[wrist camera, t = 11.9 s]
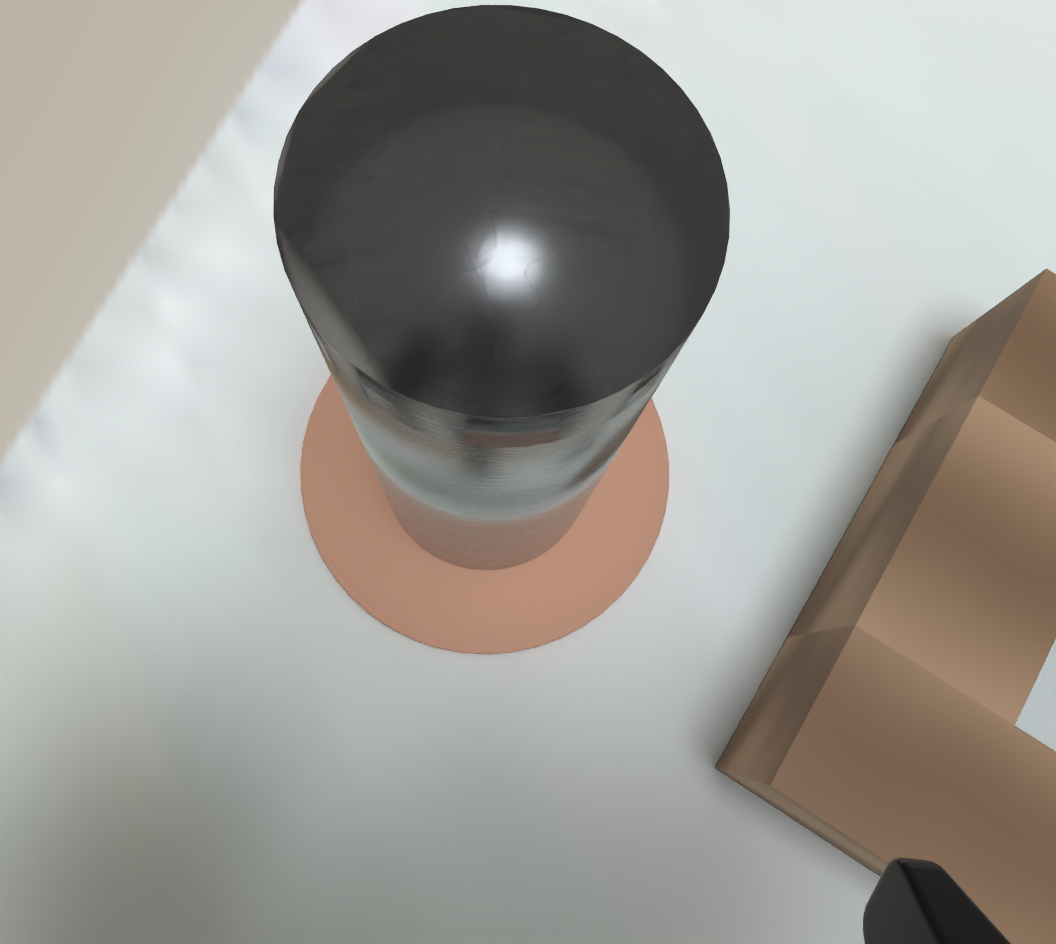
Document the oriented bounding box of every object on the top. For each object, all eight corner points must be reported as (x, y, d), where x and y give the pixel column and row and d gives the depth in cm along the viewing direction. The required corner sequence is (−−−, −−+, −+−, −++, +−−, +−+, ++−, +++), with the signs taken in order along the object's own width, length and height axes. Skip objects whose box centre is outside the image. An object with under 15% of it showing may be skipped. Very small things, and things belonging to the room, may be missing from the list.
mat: (650, 675, 21) (653, 675, 21) (272, 629, 21) (269, 628, 21) (678, 326, 24) (682, 320, 23) (336, 280, 23) (334, 273, 23)
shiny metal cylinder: (502, 613, 21) (541, 515, 9) (340, 481, 22) (174, 222, 10) (629, 454, 22) (816, 178, 10) (473, 332, 23) (473, -70, 11)
